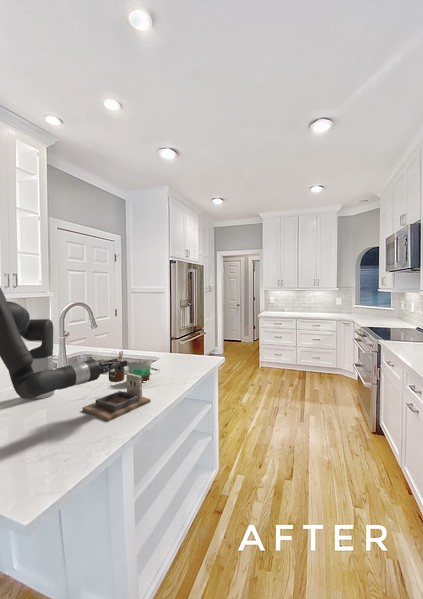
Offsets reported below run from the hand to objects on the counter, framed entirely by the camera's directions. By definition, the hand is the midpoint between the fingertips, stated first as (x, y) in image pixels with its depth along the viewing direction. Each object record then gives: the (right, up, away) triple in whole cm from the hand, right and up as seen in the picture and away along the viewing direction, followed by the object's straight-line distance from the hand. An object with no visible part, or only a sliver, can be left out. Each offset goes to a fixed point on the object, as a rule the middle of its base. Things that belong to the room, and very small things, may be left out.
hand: (121, 362), depth 118 cm
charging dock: (-1, -17, -1) cm, 17 cm away
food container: (+1, -16, +28) cm, 32 cm away
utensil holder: (-1, -7, -2) cm, 7 cm away
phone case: (0, -15, +46) cm, 49 cm away
